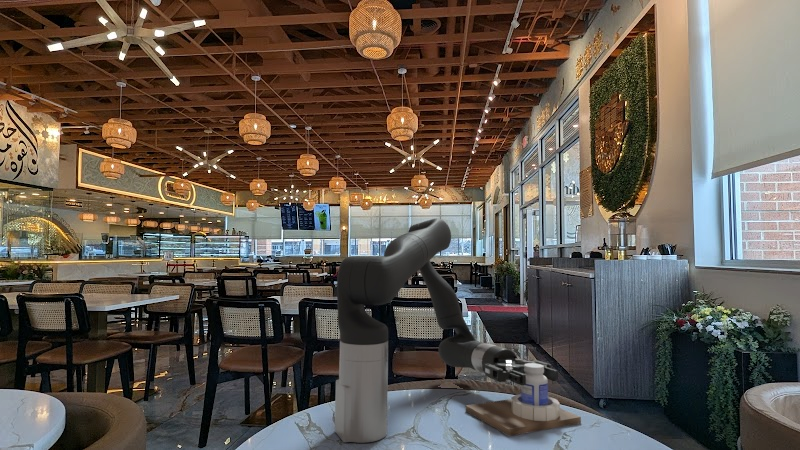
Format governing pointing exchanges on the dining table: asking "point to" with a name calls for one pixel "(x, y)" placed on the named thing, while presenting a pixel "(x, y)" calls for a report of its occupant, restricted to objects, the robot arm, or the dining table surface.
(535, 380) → the pill bottle
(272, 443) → the dining table surface
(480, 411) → the socket board
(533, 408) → the socket sleeve
